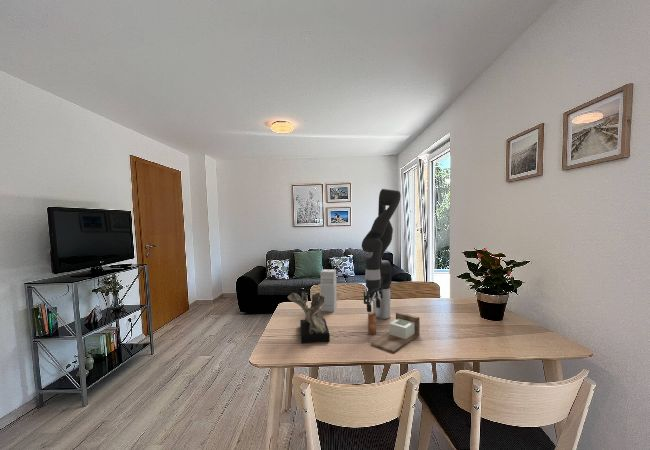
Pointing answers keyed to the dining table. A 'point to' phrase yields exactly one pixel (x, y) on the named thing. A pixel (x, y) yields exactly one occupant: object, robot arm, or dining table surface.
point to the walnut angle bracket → (394, 342)
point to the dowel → (372, 323)
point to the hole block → (401, 328)
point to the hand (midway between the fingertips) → (373, 309)
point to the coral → (311, 319)
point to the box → (328, 290)
